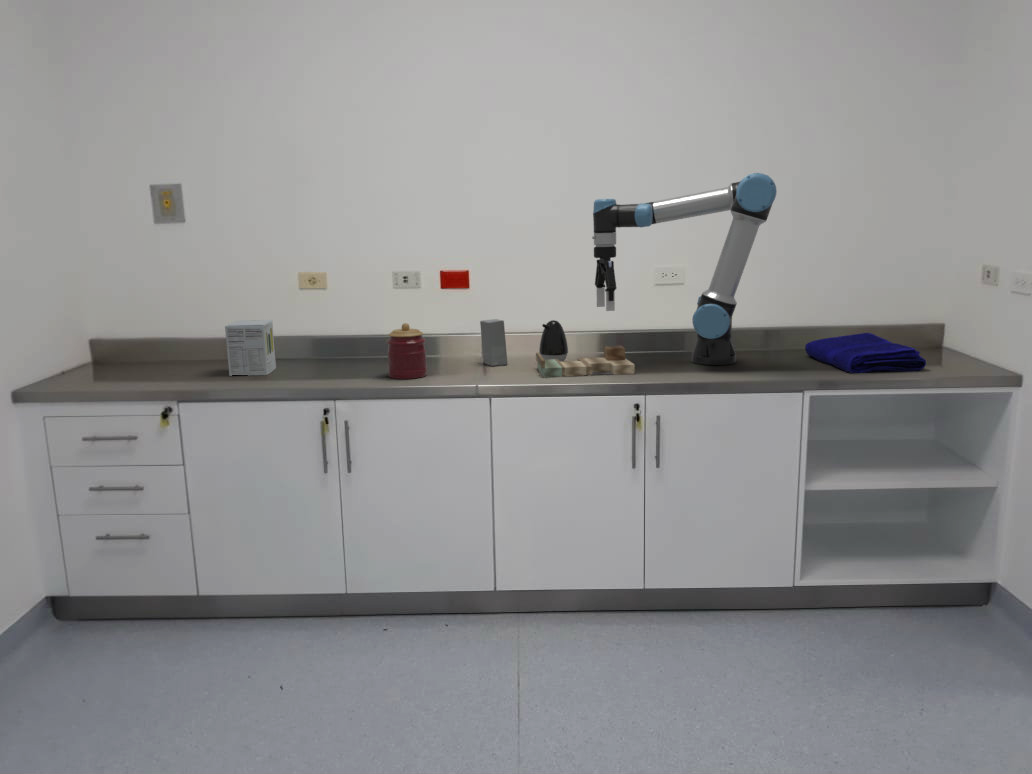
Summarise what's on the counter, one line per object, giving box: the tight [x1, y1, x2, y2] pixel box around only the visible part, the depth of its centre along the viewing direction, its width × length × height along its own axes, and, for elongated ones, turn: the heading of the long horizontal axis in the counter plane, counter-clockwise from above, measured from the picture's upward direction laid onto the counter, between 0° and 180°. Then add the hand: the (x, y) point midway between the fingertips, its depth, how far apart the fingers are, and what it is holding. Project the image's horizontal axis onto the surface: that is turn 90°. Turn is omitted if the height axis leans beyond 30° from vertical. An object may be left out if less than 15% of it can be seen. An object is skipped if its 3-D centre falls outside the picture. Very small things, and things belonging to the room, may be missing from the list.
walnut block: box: [603, 345, 626, 361], centre depth 280 cm, size 6×6×4 cm
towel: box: [804, 332, 927, 374], centre depth 279 cm, size 26×36×9 cm
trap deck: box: [535, 352, 636, 378], centre depth 275 cm, size 30×16×6 cm, turn 96°
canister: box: [386, 322, 428, 380], centre depth 272 cm, size 13×13×18 cm
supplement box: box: [224, 319, 277, 377], centre depth 285 cm, size 13×13×18 cm
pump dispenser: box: [538, 319, 569, 362], centre depth 291 cm, size 10×10×15 cm
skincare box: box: [479, 318, 508, 367], centre depth 291 cm, size 8×7×16 cm
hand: (605, 308), depth 282 cm, fingers open, 13 cm apart
